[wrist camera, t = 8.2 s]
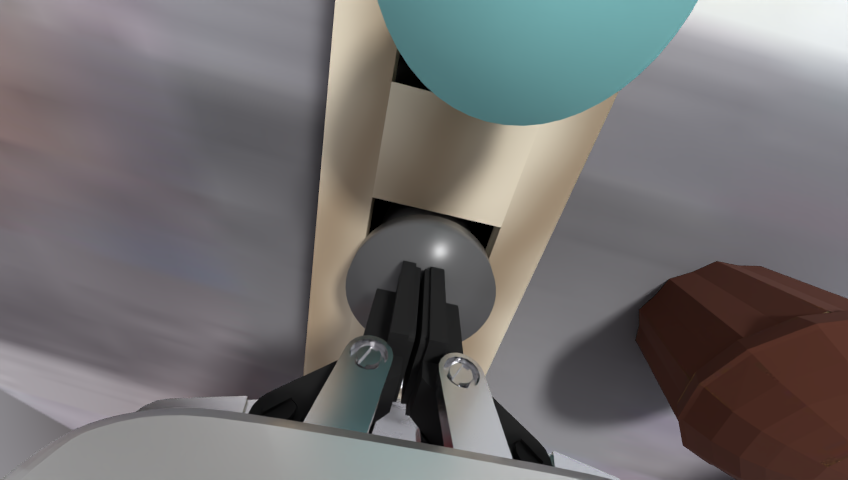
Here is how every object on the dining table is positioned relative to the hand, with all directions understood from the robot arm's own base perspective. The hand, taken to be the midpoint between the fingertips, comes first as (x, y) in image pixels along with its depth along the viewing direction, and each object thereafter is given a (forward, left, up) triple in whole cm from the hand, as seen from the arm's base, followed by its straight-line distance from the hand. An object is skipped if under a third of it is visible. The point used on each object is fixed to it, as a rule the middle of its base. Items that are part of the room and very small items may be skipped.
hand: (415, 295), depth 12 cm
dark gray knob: (0, 0, -7) cm, 7 cm away
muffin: (-20, +2, -7) cm, 22 cm away
